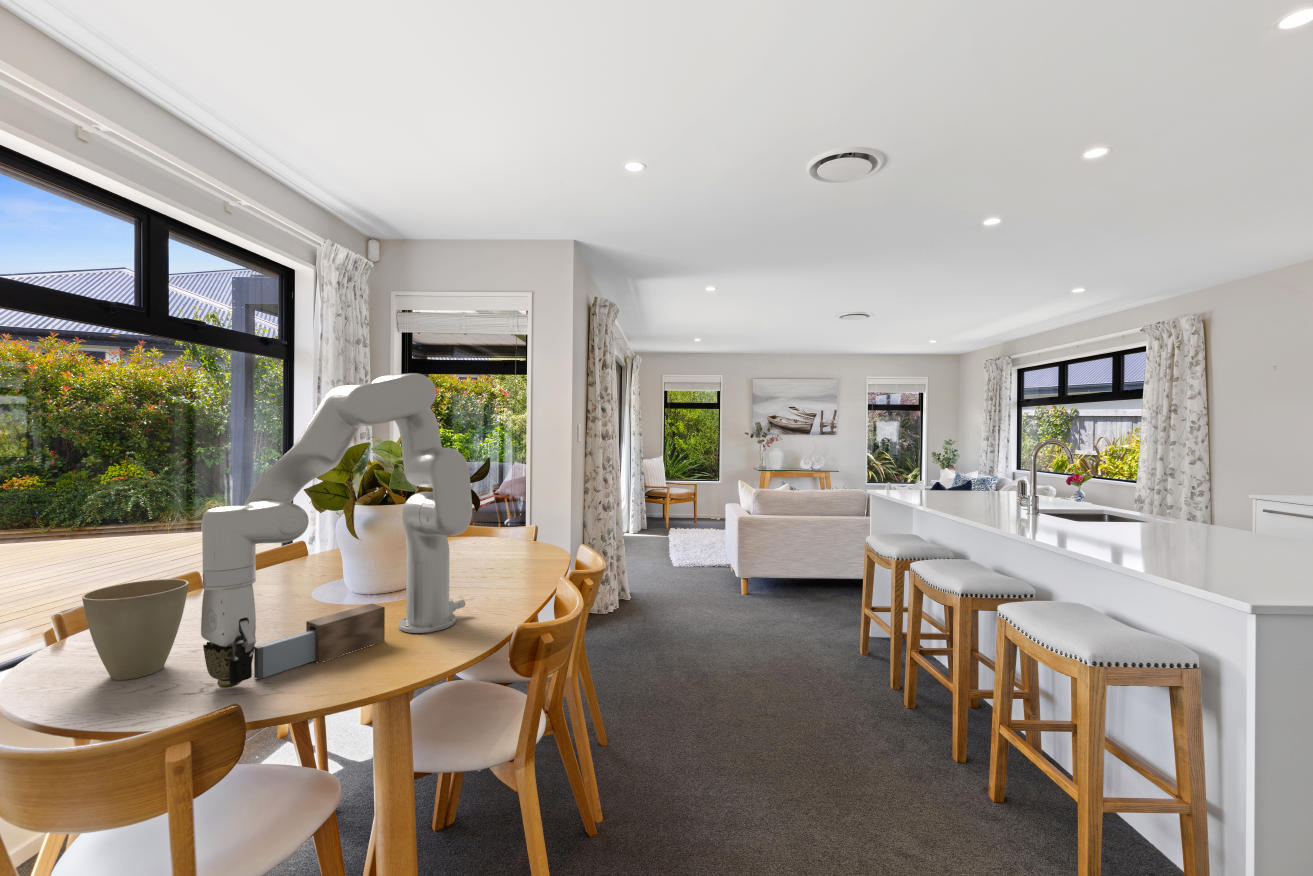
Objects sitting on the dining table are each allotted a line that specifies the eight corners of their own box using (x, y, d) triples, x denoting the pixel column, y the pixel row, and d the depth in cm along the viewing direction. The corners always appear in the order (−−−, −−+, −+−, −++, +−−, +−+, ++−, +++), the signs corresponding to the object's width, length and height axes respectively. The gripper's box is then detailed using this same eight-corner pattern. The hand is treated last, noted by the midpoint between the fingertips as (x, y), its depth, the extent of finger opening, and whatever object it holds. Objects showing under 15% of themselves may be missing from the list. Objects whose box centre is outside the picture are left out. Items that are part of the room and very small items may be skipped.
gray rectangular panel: (330, 652, 116) (330, 624, 116) (334, 653, 115) (334, 626, 115) (254, 677, 104) (254, 646, 104) (258, 679, 103) (258, 648, 103)
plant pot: (208, 660, 113) (208, 580, 112) (122, 693, 98) (122, 602, 98) (150, 653, 116) (150, 576, 116) (60, 684, 102) (59, 596, 101)
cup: (227, 696, 96) (227, 650, 96) (192, 692, 97) (192, 646, 97) (266, 677, 103) (265, 634, 103) (232, 674, 105) (232, 631, 105)
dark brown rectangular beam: (372, 637, 126) (372, 603, 126) (384, 641, 123) (384, 606, 123) (306, 658, 114) (306, 621, 114) (318, 663, 111) (318, 625, 111)
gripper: (183, 574, 101) (184, 672, 102) (227, 588, 92) (228, 696, 93) (231, 565, 108) (232, 658, 108) (277, 578, 99) (278, 679, 99)
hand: (230, 675), depth 100 cm, fingers closed on cup, 6 cm apart
